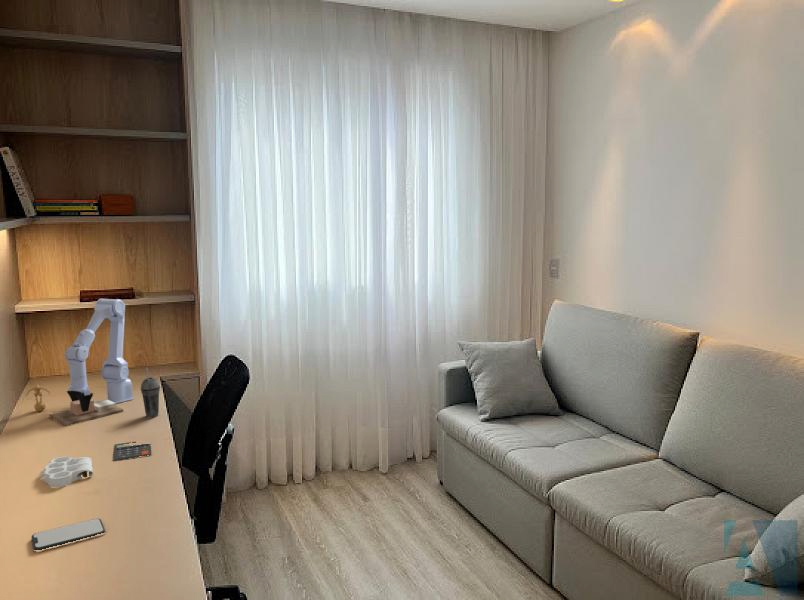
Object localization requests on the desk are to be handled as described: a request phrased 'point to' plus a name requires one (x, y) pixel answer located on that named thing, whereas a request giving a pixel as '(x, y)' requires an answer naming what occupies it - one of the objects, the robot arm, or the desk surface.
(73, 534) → the phone case
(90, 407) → the tall pink cuboid
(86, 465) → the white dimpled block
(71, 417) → the ticket board
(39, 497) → the desk surface
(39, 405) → the figurine
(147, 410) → the beverage cup
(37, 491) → the desk surface
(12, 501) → the desk surface
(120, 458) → the calculator
